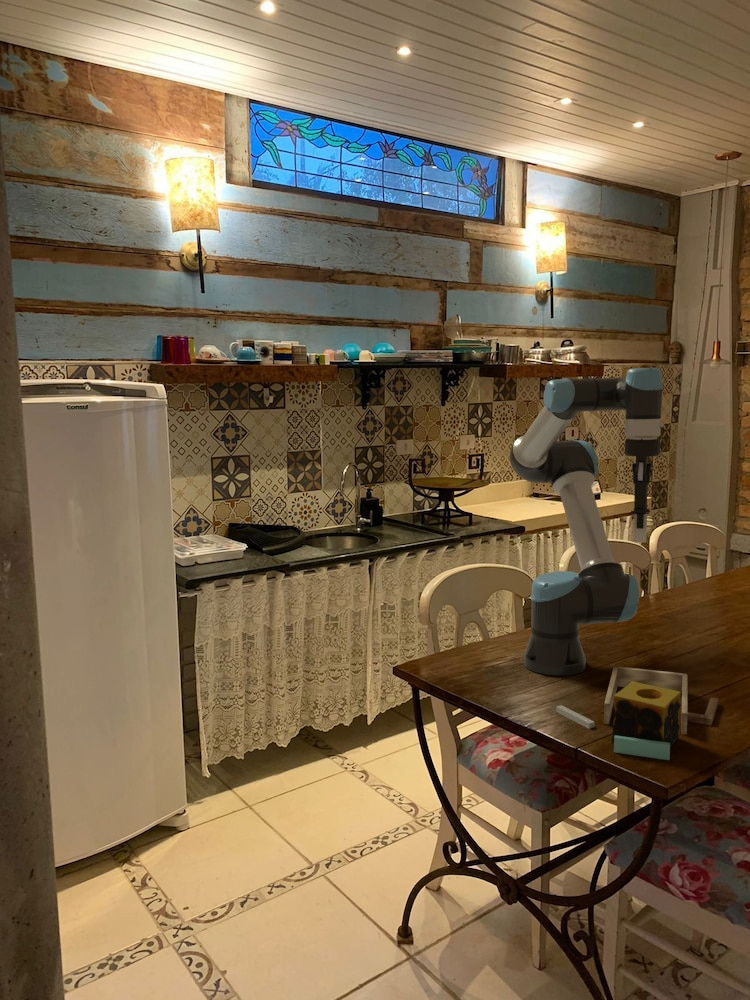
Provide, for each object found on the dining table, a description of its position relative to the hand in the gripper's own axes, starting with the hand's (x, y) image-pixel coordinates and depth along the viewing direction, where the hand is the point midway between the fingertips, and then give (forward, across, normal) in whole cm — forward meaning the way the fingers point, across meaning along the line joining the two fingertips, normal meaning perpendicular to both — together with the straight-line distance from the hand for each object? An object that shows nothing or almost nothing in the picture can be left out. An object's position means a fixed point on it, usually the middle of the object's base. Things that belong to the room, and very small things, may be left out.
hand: (639, 541), depth 177 cm
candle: (+35, -29, -3) cm, 45 cm away
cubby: (+34, -12, -3) cm, 37 cm away
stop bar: (+34, -36, -3) cm, 50 cm away
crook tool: (+35, -11, -14) cm, 39 cm away
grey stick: (+35, -23, +11) cm, 43 cm away
